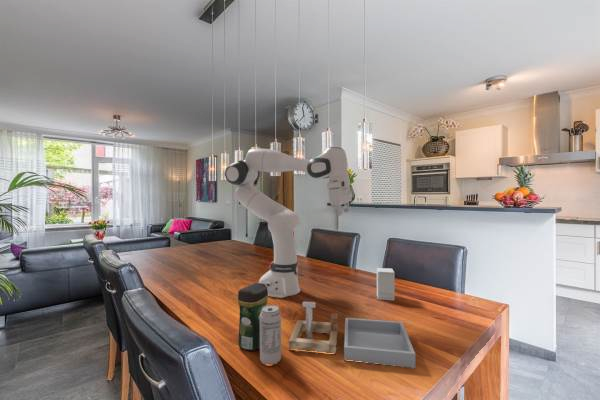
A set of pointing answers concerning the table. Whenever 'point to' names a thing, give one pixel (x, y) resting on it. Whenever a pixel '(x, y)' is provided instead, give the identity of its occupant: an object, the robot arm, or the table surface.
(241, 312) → the coffee jar
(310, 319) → the rod
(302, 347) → the ring
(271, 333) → the energy drink can
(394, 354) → the tray
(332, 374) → the table surface
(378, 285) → the supplement box
